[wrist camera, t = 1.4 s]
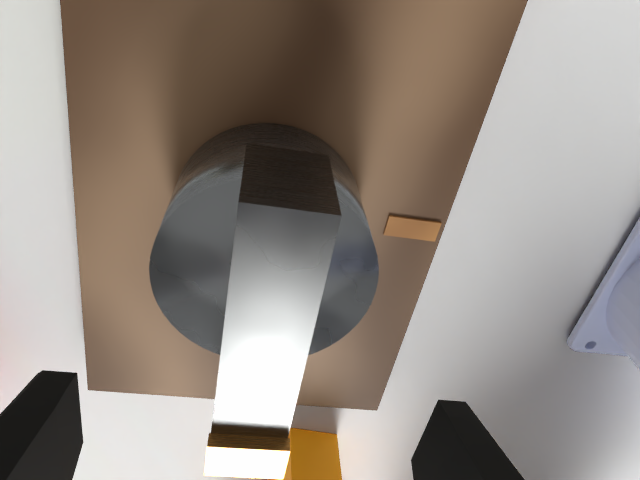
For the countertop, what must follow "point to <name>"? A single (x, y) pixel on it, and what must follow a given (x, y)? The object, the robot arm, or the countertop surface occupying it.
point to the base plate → (281, 108)
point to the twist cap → (262, 278)
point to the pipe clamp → (312, 456)
